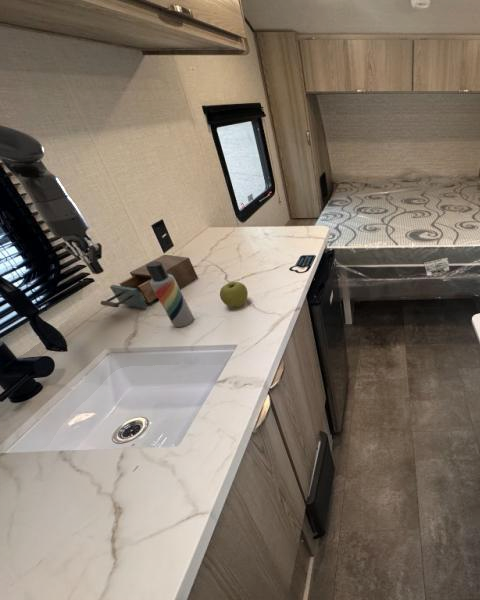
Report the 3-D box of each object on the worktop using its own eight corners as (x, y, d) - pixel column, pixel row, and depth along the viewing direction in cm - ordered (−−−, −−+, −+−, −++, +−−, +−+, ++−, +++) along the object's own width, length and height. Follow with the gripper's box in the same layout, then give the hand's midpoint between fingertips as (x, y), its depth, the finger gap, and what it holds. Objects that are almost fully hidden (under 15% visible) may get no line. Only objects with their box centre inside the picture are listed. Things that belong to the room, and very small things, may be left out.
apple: (255, 301, 106) (249, 283, 102) (233, 314, 101) (225, 295, 97) (242, 295, 110) (235, 276, 106) (220, 306, 104) (212, 287, 100)
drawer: (127, 318, 99) (115, 300, 96) (103, 314, 102) (90, 296, 98) (176, 288, 114) (167, 271, 110) (154, 284, 117) (145, 268, 113)
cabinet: (167, 298, 110) (155, 276, 105) (142, 293, 113) (129, 272, 109) (198, 278, 121) (188, 257, 116) (174, 274, 124) (164, 254, 119)
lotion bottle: (170, 322, 98) (138, 264, 87) (190, 313, 102) (161, 256, 90) (177, 330, 95) (143, 270, 84) (197, 321, 98) (167, 262, 87)
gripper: (28, 219, 84) (69, 276, 94) (63, 221, 81) (102, 281, 90) (60, 209, 90) (96, 264, 100) (94, 211, 87) (127, 268, 96)
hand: (98, 272), depth 95 cm, fingers closed
